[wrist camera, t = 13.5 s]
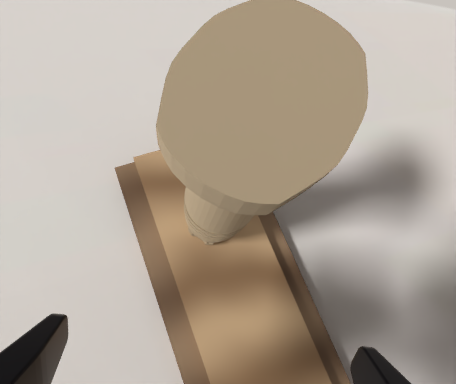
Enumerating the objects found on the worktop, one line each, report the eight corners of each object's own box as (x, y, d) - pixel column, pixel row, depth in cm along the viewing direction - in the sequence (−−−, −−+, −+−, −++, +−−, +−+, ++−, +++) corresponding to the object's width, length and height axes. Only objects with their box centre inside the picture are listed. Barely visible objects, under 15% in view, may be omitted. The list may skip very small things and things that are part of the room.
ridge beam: (361, 417, 21) (375, 426, 19) (223, 503, 18) (227, 521, 17) (235, 137, 26) (239, 127, 25) (116, 172, 24) (112, 163, 22)
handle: (260, 205, 23) (395, 55, 9) (214, 282, 21) (299, 244, 7) (205, 170, 23) (252, -29, 9) (154, 242, 21) (111, 125, 7)
